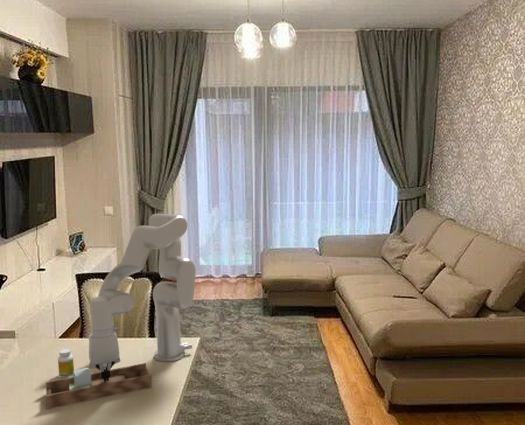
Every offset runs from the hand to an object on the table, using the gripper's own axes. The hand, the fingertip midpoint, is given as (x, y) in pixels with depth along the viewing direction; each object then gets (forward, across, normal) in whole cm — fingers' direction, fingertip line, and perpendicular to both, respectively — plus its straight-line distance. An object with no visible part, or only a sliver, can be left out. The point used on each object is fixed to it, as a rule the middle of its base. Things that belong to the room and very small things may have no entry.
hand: (106, 379), depth 173 cm
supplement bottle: (+4, +13, -18) cm, 22 cm away
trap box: (+3, +2, 0) cm, 4 cm away
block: (+1, +8, +1) cm, 8 cm away
